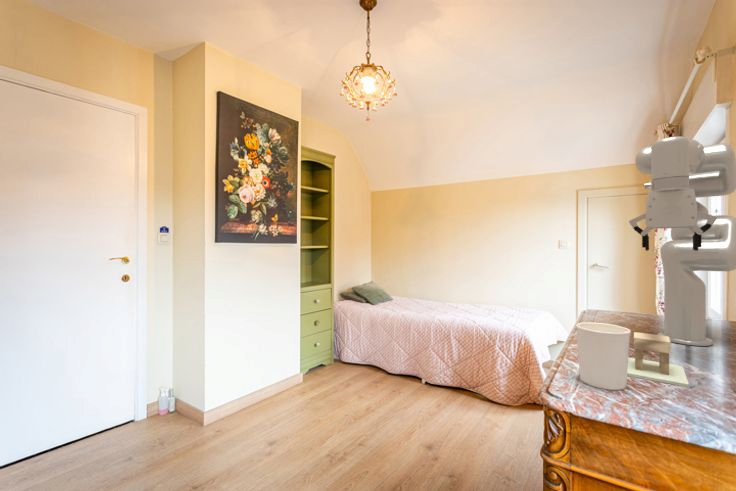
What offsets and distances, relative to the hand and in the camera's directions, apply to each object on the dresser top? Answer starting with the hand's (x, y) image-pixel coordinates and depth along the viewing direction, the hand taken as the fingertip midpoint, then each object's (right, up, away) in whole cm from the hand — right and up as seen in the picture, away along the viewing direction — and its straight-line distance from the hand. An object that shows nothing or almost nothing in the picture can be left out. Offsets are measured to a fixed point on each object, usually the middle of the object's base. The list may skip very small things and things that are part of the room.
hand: (670, 250), depth 91 cm
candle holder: (-29, -29, -16) cm, 44 cm away
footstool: (-13, -28, -10) cm, 32 cm away
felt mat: (-13, -29, -10) cm, 33 cm away
